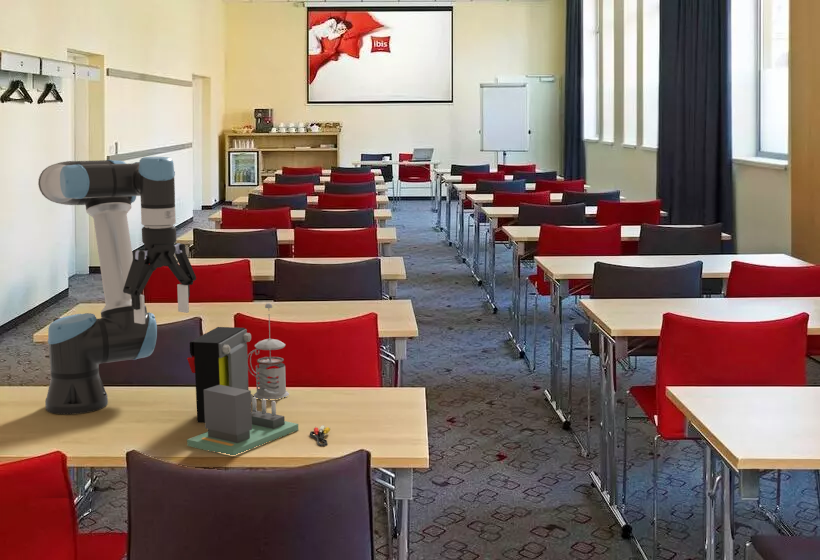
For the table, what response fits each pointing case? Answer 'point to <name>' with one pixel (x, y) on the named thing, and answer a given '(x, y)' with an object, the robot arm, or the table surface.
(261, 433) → the header board
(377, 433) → the table surface
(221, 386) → the block
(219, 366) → the electrical component
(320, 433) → the composite cable
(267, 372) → the french press
